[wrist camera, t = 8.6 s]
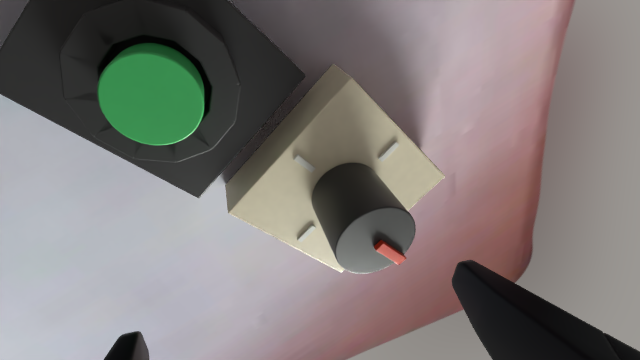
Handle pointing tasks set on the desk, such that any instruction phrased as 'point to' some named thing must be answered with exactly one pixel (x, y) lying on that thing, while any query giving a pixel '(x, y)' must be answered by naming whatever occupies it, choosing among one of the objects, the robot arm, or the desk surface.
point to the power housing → (161, 28)
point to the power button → (152, 94)
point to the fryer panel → (324, 163)
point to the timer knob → (362, 219)
